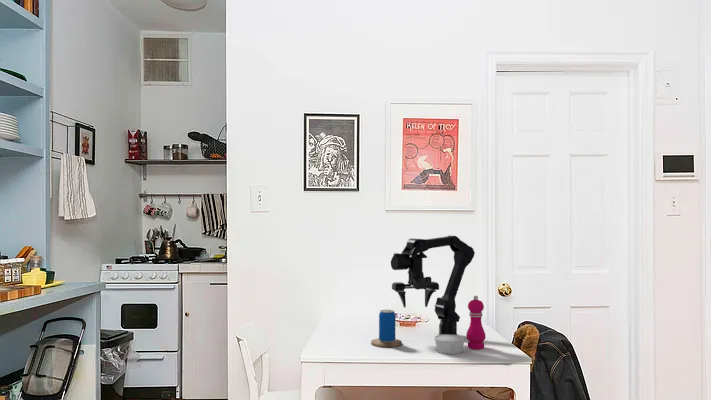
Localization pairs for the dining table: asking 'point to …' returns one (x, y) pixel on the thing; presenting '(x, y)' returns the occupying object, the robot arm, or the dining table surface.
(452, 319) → the robot arm
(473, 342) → the pepper mill
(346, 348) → the dining table surface
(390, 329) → the beverage can
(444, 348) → the ramekin
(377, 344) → the walnut coaster
